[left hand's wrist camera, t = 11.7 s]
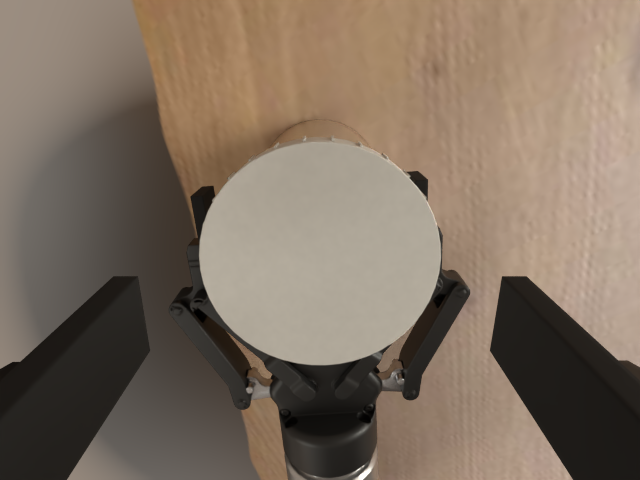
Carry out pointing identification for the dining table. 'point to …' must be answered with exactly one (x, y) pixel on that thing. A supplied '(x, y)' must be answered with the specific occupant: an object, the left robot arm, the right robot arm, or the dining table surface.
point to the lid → (319, 251)
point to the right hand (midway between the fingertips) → (308, 182)
